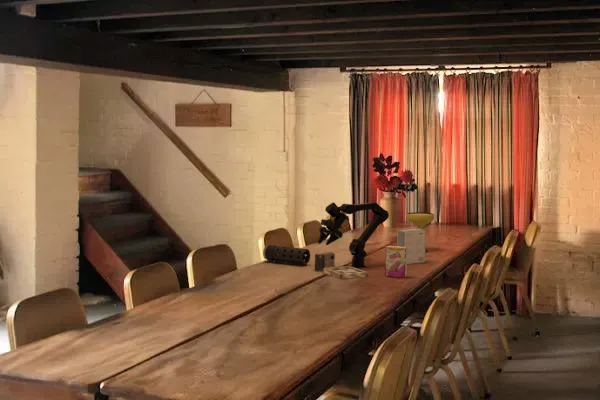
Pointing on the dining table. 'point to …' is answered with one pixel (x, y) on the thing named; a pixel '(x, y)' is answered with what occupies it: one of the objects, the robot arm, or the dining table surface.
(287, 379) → the dining table surface
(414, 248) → the hard drive box
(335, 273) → the slot rack
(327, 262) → the camera
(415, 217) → the cocktail glass
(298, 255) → the muzzle brake
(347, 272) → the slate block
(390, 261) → the candy bar box
